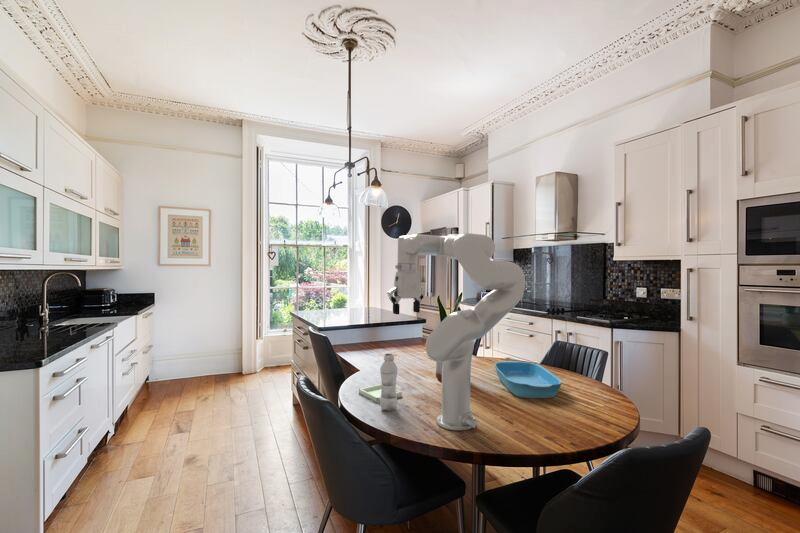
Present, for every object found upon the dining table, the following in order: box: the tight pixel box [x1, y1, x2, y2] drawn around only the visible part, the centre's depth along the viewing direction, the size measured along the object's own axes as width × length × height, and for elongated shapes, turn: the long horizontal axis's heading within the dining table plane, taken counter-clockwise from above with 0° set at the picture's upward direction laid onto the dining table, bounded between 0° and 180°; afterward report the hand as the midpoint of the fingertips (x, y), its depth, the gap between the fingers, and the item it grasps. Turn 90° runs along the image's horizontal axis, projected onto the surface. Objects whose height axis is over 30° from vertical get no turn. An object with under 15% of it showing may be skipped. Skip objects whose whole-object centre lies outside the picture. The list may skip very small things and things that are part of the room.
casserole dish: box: [494, 360, 563, 399], centre depth 165 cm, size 37×22×7 cm, turn 1°
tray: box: [358, 383, 403, 404], centre depth 153 cm, size 13×12×2 cm
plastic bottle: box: [379, 353, 398, 412], centre depth 138 cm, size 6×7×20 cm
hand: (406, 313), depth 145 cm, fingers open, 9 cm apart
